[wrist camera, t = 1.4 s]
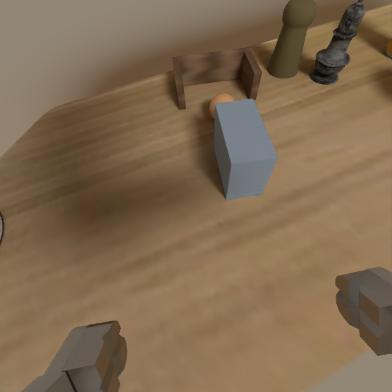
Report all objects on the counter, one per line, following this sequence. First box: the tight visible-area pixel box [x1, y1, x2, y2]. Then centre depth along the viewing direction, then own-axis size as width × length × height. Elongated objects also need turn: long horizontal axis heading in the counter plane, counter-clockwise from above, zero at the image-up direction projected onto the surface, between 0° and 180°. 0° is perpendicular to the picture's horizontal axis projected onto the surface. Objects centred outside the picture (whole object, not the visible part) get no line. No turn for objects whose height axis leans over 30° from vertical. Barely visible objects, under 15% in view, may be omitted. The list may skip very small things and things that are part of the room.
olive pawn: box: [267, 0, 317, 78], centre depth 38 cm, size 6×6×11 cm
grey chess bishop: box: [310, 0, 366, 85], centre depth 36 cm, size 6×6×12 cm
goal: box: [172, 48, 262, 110], centre depth 38 cm, size 14×8×5 cm, turn 97°
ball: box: [209, 93, 234, 119], centre depth 35 cm, size 4×4×4 cm
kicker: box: [214, 99, 278, 200], centre depth 28 cm, size 5×10×8 cm, turn 7°
